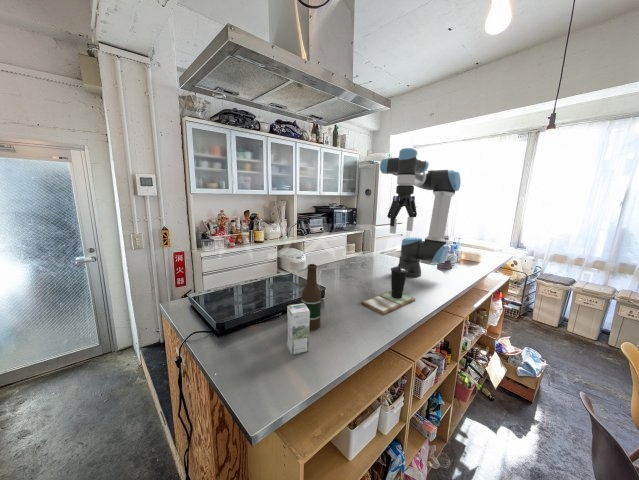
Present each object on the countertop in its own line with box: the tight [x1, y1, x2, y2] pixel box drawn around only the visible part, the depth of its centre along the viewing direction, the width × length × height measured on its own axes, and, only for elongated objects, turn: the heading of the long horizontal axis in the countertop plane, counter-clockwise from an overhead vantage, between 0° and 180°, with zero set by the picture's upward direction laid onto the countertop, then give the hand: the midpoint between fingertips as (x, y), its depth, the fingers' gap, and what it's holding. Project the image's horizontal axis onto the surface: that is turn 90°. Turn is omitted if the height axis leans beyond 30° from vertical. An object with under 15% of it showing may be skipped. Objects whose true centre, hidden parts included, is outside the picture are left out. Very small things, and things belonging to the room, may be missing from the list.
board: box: [360, 290, 416, 316], centre depth 118 cm, size 24×13×1 cm, turn 129°
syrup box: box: [286, 303, 310, 356], centre depth 80 cm, size 6×6×14 cm
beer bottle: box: [300, 263, 322, 331], centre depth 93 cm, size 8×8×24 cm
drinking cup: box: [390, 255, 408, 299], centre depth 120 cm, size 8×8×20 cm
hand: (401, 232), depth 117 cm, fingers open, 13 cm apart
